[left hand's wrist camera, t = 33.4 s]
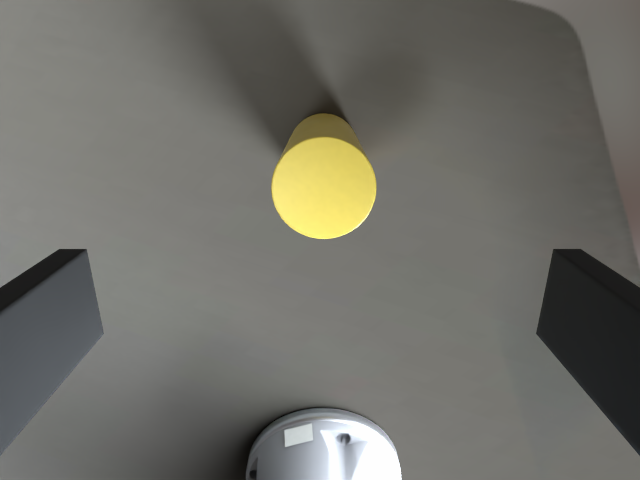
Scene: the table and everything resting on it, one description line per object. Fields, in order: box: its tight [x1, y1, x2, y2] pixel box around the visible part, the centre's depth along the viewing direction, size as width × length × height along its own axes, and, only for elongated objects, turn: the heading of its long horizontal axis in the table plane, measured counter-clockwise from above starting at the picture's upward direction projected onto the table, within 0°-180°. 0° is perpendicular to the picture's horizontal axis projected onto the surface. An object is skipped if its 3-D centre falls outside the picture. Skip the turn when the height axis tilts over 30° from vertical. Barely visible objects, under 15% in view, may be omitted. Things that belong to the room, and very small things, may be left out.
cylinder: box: [271, 113, 376, 239], centre depth 27 cm, size 5×5×12 cm
